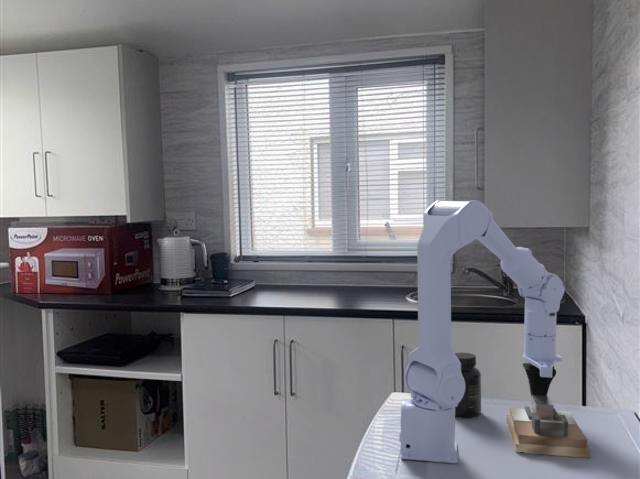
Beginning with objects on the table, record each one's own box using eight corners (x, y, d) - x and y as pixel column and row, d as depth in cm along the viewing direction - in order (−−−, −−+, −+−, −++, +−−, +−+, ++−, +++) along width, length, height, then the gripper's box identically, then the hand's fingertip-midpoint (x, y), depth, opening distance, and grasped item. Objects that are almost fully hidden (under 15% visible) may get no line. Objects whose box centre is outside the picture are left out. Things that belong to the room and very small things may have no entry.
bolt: (535, 419, 104) (536, 404, 103) (531, 408, 108) (531, 394, 108) (553, 420, 103) (553, 405, 103) (547, 409, 108) (548, 395, 108)
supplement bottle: (477, 406, 118) (478, 351, 117) (483, 419, 111) (484, 360, 110) (444, 405, 119) (445, 350, 118) (448, 418, 112) (449, 360, 111)
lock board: (515, 452, 97) (516, 421, 97) (506, 422, 110) (507, 394, 110) (590, 458, 95) (591, 426, 95) (571, 426, 108) (572, 398, 107)
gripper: (571, 344, 100) (569, 417, 101) (554, 325, 115) (552, 390, 116) (529, 342, 102) (527, 415, 103) (517, 324, 116) (516, 388, 117)
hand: (538, 401), depth 109 cm, fingers closed
